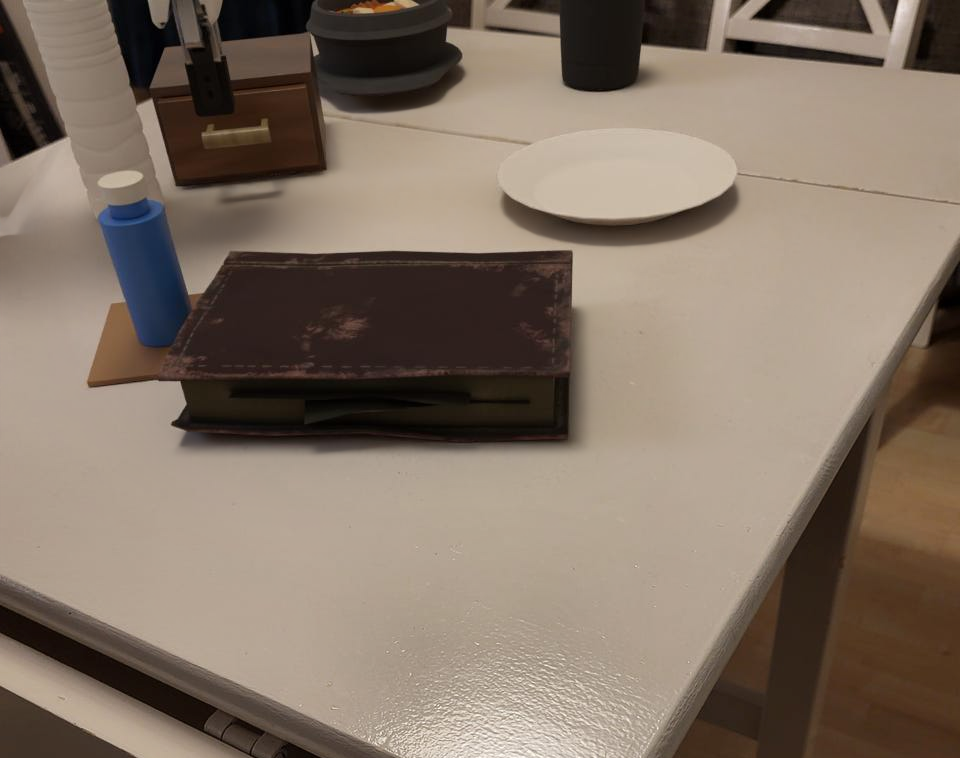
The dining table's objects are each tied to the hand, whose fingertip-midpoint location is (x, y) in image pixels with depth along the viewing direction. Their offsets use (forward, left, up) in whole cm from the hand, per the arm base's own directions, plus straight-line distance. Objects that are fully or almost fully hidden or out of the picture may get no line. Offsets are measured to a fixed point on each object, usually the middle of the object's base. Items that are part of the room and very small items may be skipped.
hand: (216, 112), depth 81 cm
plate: (+33, -4, -9) cm, 35 cm away
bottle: (-4, -21, -9) cm, 23 cm away
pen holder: (+39, +29, -9) cm, 50 cm away
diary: (+11, -30, -9) cm, 33 cm away
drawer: (0, +13, -8) cm, 16 cm away
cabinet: (0, +17, -9) cm, 20 cm away
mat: (-5, -21, -9) cm, 23 cm away
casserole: (+15, +38, -9) cm, 42 cm away
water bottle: (-12, +5, -9) cm, 16 cm away
